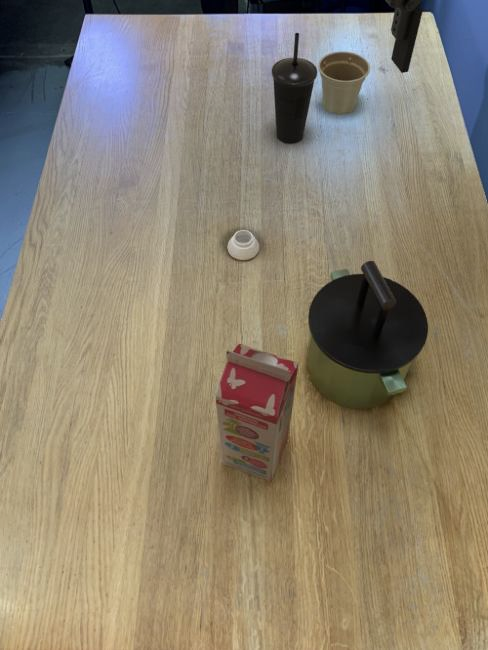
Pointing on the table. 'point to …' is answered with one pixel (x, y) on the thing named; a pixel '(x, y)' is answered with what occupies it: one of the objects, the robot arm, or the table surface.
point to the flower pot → (342, 80)
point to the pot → (351, 377)
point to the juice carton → (255, 409)
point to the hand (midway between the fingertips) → (456, 55)
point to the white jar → (243, 245)
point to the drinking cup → (292, 95)
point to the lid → (368, 322)
